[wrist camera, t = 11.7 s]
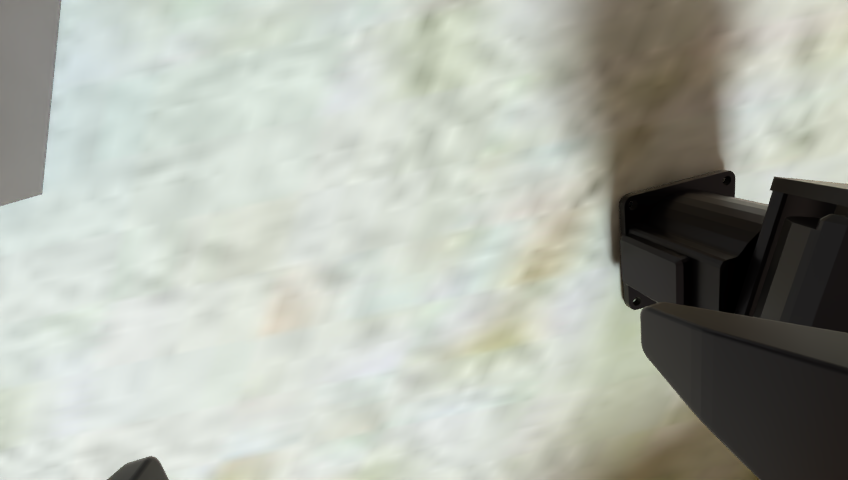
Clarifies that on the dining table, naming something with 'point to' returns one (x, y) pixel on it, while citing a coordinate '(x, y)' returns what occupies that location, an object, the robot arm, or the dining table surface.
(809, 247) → the robot arm
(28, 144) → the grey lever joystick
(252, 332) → the dining table surface
